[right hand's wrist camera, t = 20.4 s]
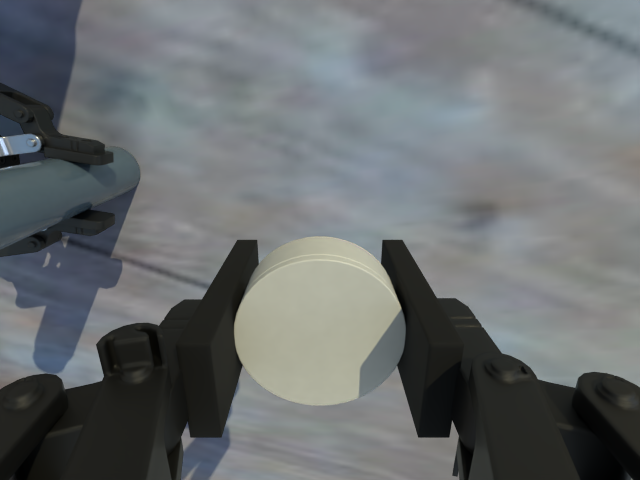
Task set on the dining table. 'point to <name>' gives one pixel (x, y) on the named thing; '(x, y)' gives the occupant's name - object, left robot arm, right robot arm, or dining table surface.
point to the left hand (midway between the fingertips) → (107, 191)
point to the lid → (319, 322)
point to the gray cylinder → (58, 192)
